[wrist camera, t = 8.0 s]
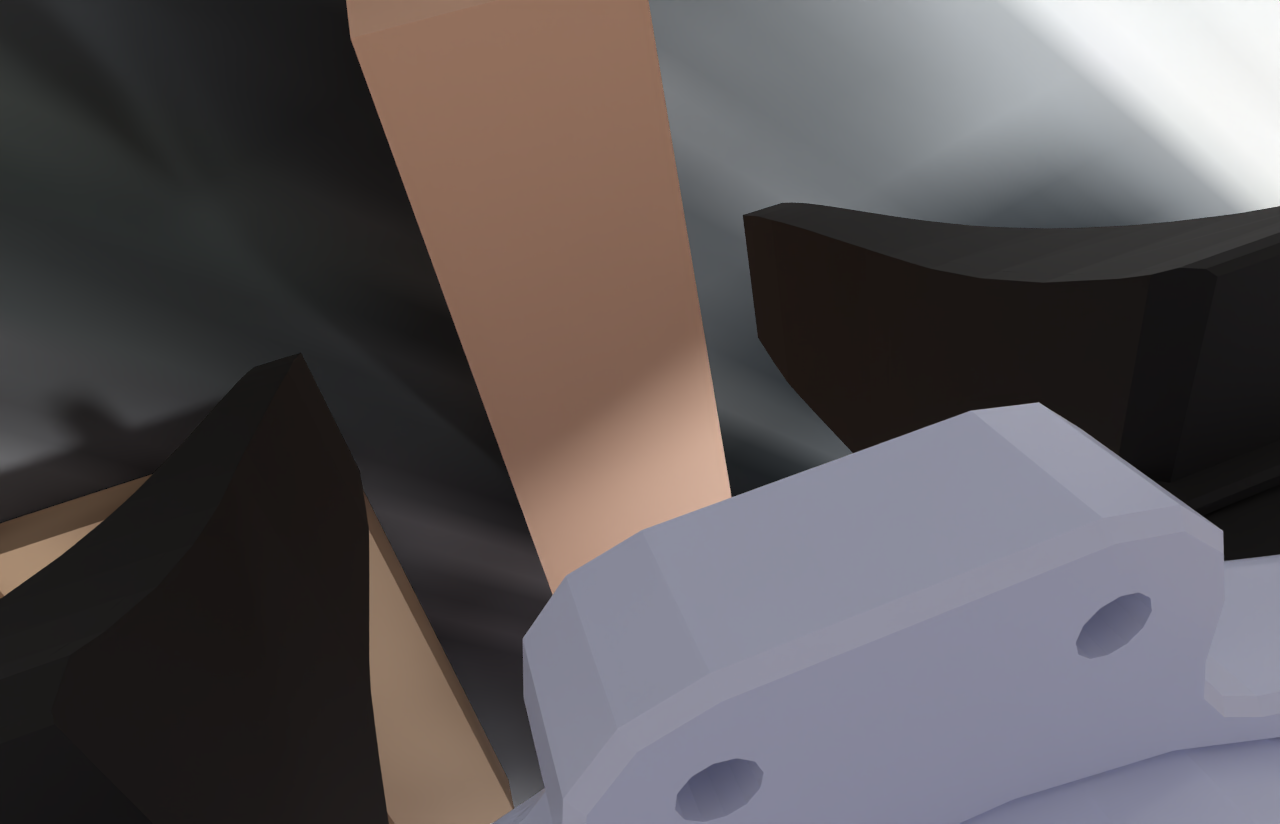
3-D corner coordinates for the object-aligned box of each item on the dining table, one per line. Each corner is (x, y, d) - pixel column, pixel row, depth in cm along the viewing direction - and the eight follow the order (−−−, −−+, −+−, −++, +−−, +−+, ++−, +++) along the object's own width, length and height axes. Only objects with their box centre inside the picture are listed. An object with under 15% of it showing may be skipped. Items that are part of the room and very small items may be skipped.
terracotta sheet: (477, -74, 12) (641, -38, 6) (616, 456, 18) (778, 778, 11) (341, -41, 12) (350, 40, 5) (527, 488, 18) (640, 837, 11)
